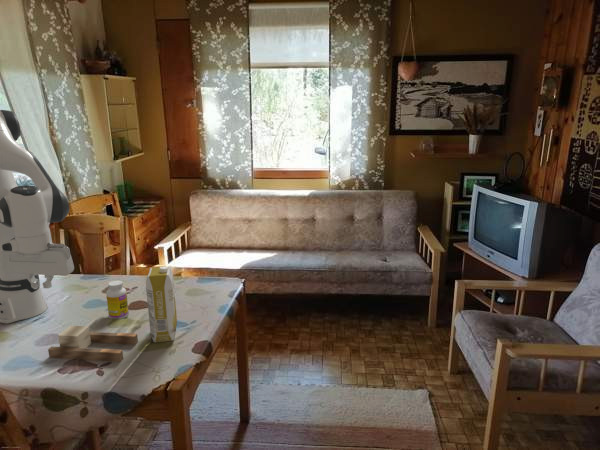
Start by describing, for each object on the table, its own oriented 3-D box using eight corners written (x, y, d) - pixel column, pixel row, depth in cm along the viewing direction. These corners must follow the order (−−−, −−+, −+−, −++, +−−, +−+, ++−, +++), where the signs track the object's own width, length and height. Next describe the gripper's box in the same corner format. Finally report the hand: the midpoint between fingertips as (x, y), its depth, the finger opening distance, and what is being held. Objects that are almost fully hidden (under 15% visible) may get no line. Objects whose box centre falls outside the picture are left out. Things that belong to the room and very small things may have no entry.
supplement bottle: (122, 321, 152) (117, 287, 149) (105, 319, 154) (100, 285, 150) (132, 312, 159) (129, 280, 155) (116, 311, 160) (112, 278, 157)
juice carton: (176, 342, 139) (170, 272, 133) (150, 344, 137) (143, 273, 131) (178, 328, 148) (172, 261, 142) (154, 330, 146) (147, 263, 140)
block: (61, 353, 130) (58, 335, 129) (73, 342, 136) (70, 325, 135) (80, 354, 130) (77, 336, 128) (91, 343, 136) (88, 326, 134)
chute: (50, 361, 128) (47, 348, 127) (72, 342, 139) (70, 330, 138) (121, 365, 126) (119, 352, 125) (138, 345, 137) (137, 333, 136)
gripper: (75, 240, 127) (81, 284, 131) (9, 238, 129) (17, 281, 133) (61, 247, 121) (68, 293, 125) (-7, 245, 123) (2, 290, 126)
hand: (41, 287), depth 129 cm, fingers open, 2 cm apart
